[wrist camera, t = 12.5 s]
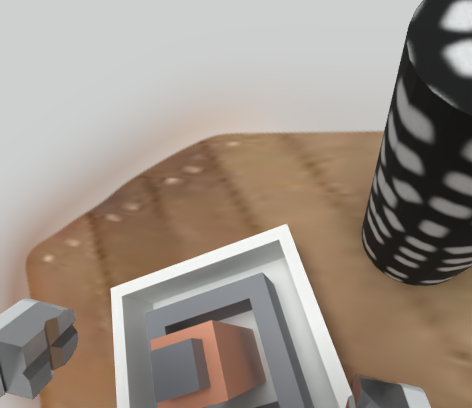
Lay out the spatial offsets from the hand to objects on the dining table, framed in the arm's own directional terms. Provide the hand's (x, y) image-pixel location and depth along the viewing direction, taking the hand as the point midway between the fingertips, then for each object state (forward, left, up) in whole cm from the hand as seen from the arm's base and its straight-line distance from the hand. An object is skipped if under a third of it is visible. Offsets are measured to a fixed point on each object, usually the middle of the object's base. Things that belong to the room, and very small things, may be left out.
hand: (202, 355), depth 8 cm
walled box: (-4, +3, -20) cm, 20 cm away
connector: (-4, +3, -19) cm, 19 cm away
